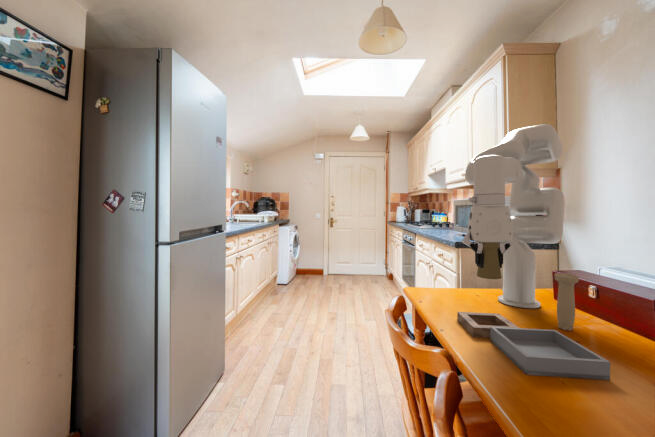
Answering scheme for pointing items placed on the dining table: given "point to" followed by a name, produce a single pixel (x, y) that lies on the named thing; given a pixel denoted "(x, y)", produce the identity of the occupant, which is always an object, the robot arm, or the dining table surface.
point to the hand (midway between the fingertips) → (489, 266)
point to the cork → (490, 262)
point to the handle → (566, 300)
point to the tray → (549, 353)
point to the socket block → (483, 331)
